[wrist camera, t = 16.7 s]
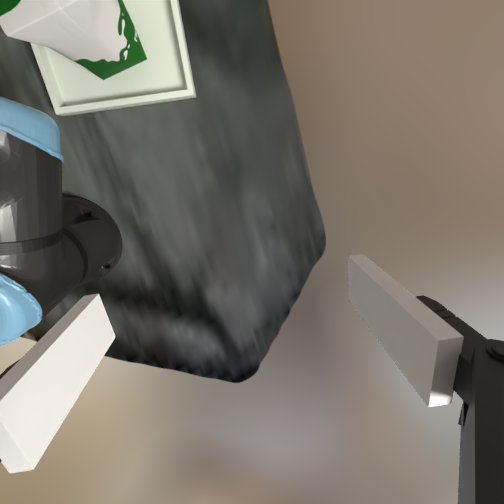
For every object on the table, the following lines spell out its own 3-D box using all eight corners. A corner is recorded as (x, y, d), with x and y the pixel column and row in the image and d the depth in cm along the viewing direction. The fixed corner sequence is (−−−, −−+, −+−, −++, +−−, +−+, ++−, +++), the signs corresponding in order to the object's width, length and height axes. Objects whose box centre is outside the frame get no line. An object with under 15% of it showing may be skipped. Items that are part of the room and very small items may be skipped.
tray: (64, 116, 41) (55, 114, 39) (17, -21, 35) (3, -31, 33) (196, 97, 41) (194, 94, 39) (170, -42, 35) (166, -53, 33)
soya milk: (64, 20, 36) (-113, -114, 18) (124, -10, 36) (5, -183, 17) (101, 90, 39) (-16, 38, 21) (157, 63, 39) (88, -14, 20)
